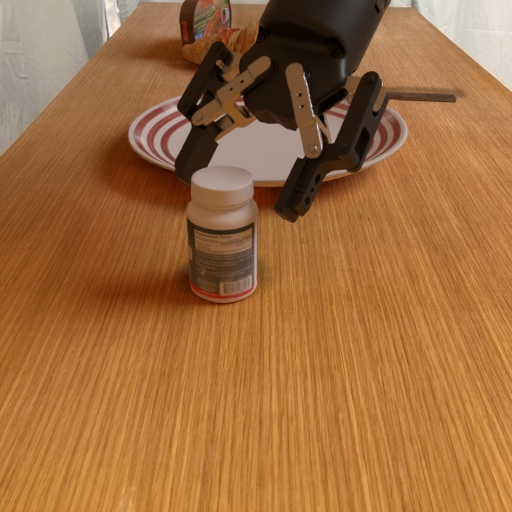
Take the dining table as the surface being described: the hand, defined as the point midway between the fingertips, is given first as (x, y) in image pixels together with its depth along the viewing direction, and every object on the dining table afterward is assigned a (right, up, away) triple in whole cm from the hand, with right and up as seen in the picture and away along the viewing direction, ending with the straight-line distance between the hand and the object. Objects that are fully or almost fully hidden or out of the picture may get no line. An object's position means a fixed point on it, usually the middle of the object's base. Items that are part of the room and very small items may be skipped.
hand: (231, 198), depth 46 cm
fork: (+19, +16, +40) cm, 47 cm away
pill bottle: (-1, -6, +3) cm, 7 cm away
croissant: (+2, +23, +52) cm, 56 cm away
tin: (-6, +27, +60) cm, 66 cm away
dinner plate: (+3, +7, +24) cm, 25 cm away
